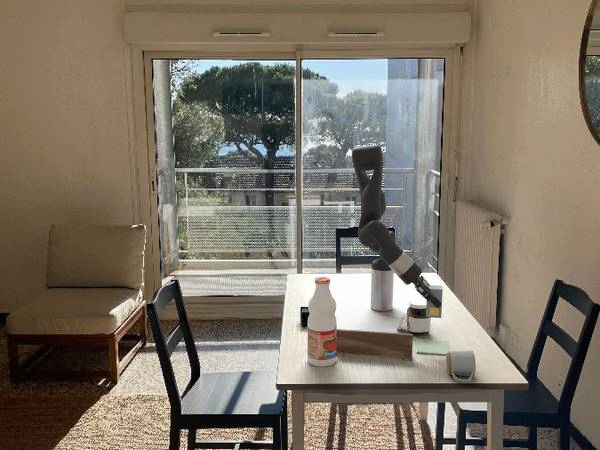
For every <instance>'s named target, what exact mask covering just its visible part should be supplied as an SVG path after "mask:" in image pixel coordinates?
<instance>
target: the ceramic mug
mask: <svg viewBox="0 0 600 450" xmlns="http://www.w3.org/2000/svg"><path fill="white" fill-rule="evenodd" d="M475 356H476V355H475V353H474V350H455V351H454V350H452V351H450V352H448V353H447V355H446V358H445V361H446V372H447V373H448V374H449V375H451V376H452V378H453V379H454V381H456V382H457V383H459V384H468V383H470V382H471V381H472V379H473V377H475V375H476V357H475ZM457 376H460V377H461V376H462V377H468V378H466V379H462V378H459V377H457Z"/></svg>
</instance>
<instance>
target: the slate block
mask: <svg viewBox="0 0 600 450" xmlns="http://www.w3.org/2000/svg"><path fill="white" fill-rule="evenodd" d="M429 288H430V289H431V292H432V293H433V294H434V296H435V297H436V298H437V299H438V300H439V301H440V302H441V303H442V304H443V292H444V290H443V286H442V285H437V284H436V285H435V284H430V286H429ZM427 290H428V288H427ZM427 296H429V294H427ZM425 301H426V317H431V319H432V318H434V319H435V318H436V319H442V313H443V311H442V310H443V309H442V308H443V306H440V307H439V308H436V307H435V306H434V305H433V304H432V303H431V302H430V301H427V300H425Z"/></svg>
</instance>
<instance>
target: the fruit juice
mask: <svg viewBox="0 0 600 450" xmlns="http://www.w3.org/2000/svg"><path fill="white" fill-rule="evenodd" d="M314 284H315V289H314V291H313V294H312V296H311V298H309V300H308V303H307V304H308V306H307V307H308V309H309V313H310V315H309V317H308V327H307V362H308V363H309V364H310V365H312V366H315V367H330V366H333V365H334V364H335V363H336V361H337V355H336V332H337V329H338V328H337V327H338V326H337V325H338V322H337V316H336V310H337V301H336V300H335V298H334V297H333V295H332V293H331V289H330V284H331V279H330V277H327V276H320V277H315V278H314Z"/></svg>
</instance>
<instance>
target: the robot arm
mask: <svg viewBox="0 0 600 450" xmlns="http://www.w3.org/2000/svg"><path fill="white" fill-rule="evenodd" d="M383 156H384V155H383V150H382V148H381V146H380V145H379V144H369V145H367V144H366V145H361V146H359V145H358V146H355V147H353V149H352V150H351V161H352V165H353V168H354V169H353V170H354V172H355V176H356V180H357V183H358V188H359V194H360V195H359V196H360V213H361V214H360V219H359V222H358V226H357V228H358V229H357V237H358V240H359V242H360V244H361V245H362V246H364V247H367V248H369V251H371V252H374V253H378V255H379V257H380V258H378V259H373V261H371V268H370V269H371V272H370V275H371V276H370V279H371V281H370V309H371V310H373V311H377V312H378V311H379V312H388V311H391V310H392V311H393V309H394V308H393V305H394V304H393V302H394V274H395V275H396V276H397V277H398V278H399V279H400V280H401V281H402V282H403V283H404V285H406V286H409V285H411V284H413V285H414V289H415V290H416V292H418V293H419V294H420V295H421V297H422V298H424V299H425V301H430V302H431V303H432V304H433V305H434V306H435V307H436V308H439V307H440V306H442V305H443V302H442V303H441V302H440V301H439V300H438V299H437V298H436V297H435V296H434V294H433V293H432V292H431V289H430V288H429V286H430V285H431V284H430V283H429V282H428V281H427V279H425V277H424V276H423V275H421V274H422V273H423V269H422V268H421V267H420V266H419V265H418V264H417V263H416V262H415V261H414V260H413V259H412V258H411V256H409V255H408V254H407V253H406V252H404V251H403V249H402V248H400V246H399V245H398V244H397V242H396V239H397V238H396V234H395V232H394V231H392V230H388V228H387V227H386V225H385V224H384V223H383V222H382V221H380V220H381V219H382V217H383V216H384V214H385V212H386V209H387V202H386V196H385V193H384V191H383V189H382V180H383V170H384V169H383V168H384V167H383V166H384V157H383ZM367 171H368V172H369V171H373V173H372V176H371V178H370V177H369V175H368V174H367V173H366V172H367ZM427 288H428V290H427ZM427 294H429V296H427ZM442 307H443V306H442Z"/></svg>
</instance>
